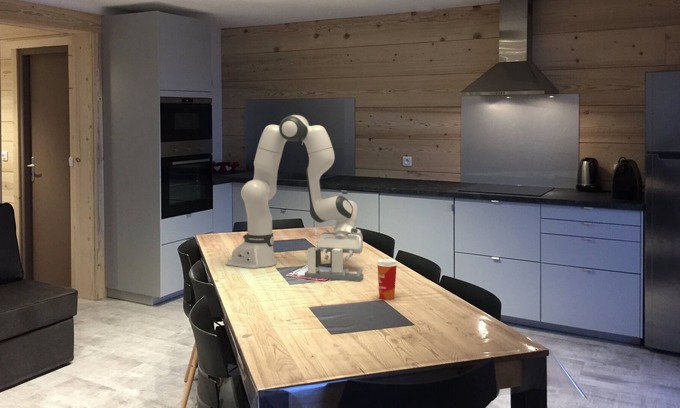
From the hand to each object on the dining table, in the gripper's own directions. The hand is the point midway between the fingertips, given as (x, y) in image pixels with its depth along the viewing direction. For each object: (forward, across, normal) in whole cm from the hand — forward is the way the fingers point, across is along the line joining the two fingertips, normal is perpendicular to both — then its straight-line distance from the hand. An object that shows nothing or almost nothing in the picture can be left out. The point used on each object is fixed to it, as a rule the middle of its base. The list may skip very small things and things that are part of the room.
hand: (336, 259), depth 288 cm
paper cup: (+28, +30, -20) cm, 46 cm away
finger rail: (+11, +2, -4) cm, 12 cm away
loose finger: (+4, 0, +4) cm, 6 cm away
